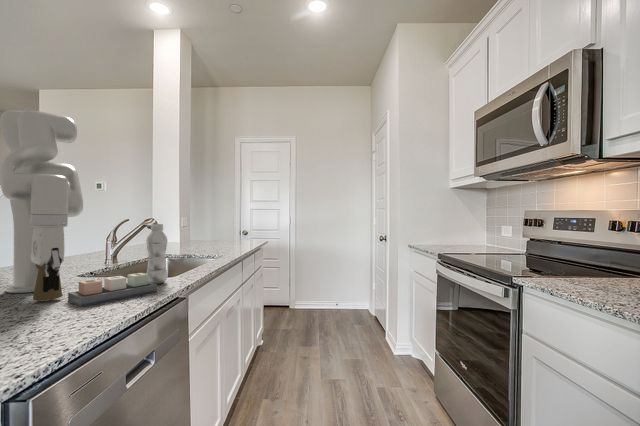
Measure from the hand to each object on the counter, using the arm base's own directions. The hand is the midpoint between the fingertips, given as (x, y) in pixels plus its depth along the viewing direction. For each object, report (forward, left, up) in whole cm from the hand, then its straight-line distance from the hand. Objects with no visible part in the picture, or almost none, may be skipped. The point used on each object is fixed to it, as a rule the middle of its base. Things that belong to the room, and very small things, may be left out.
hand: (48, 288), depth 85 cm
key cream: (+10, +12, -1) cm, 16 cm away
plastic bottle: (+2, +28, -4) cm, 28 cm away
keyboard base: (+10, +12, -3) cm, 16 cm away
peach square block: (+10, +6, -1) cm, 12 cm away
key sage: (+10, +18, -1) cm, 21 cm away
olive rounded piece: (0, 0, -2) cm, 2 cm away
